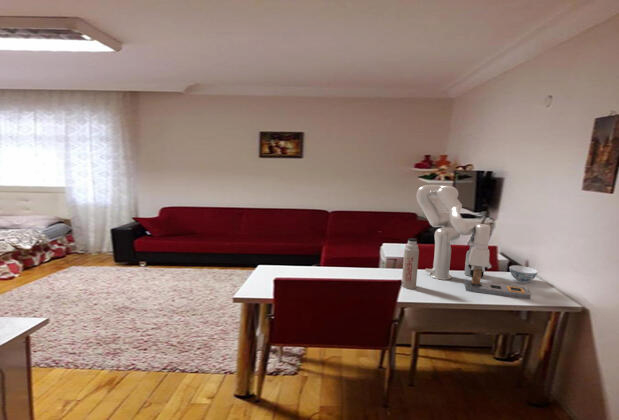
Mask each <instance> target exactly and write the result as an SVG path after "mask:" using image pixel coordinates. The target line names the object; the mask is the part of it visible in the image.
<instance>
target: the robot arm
mask: <svg viewBox="0 0 619 420" xmlns="http://www.w3.org/2000/svg"><path fill="white" fill-rule="evenodd" d="M415 197H416V201H417V203H418V205H419V207H420V208H421V210H422V212H423V213H424V215H425V217H426V219H427V221H428V223H429V225H430V226H431V227H433V228H437V229H436V230H435V232H434V254H433V255H434V256H433V257H434V258H433V264H432V266H433V267H432V268H427V267H426V268H425V269H424V270H425V272H427V273H430V274H429V276H430V277H432V278H433V279H435V280H436V279H437V280H442V281H444V280H445V281H448V280H451V279H452V275H450V265H451V256H452V255H451V254H452V247H451V246H452V245H451V242H455V241H457V240H459V239H460V237H461V236H470V235H471V236H472V234H475V236H474V242H473V243H471V245H472V246H473V247H472V248H471V251H470V255H469V259H468V260H467V261H466V260H465V262H464V264H466V265H467V266H468V267H469V268H470V269H471V272H470V275H471V276H472V277H473V273H474V269H473V268H474V266H480V267H482V269H481V271H482V273H481V279H482V278H483V277H484V274H485V272H486V271H487V270H489V269H491V268H492V264H491V263H490V249H489V241H490V233H491V226H490V225H488V224H485V223H479V222H476V221H474V220H473V221H465V220H464V218H463V216H462V215H461V213H460V210H462V207H463V204H462V203H461V202H460V200H459V199H458V197H459V190H458V189H457V188H456V187H455V186H450V185H449V186H448V185H439V184H425V185H422V186H420V187H419V188H418V189H417V191H416V196H415ZM432 199H439V201H440V202H441V204H442V205H443V206H444V208H445V209H446V211H443V210H442V211H440V210H439V208H438V207H437V205H436V204H435V201H433V200H432ZM447 211H448V212H447ZM468 263H469V264H468ZM472 277H471V278H472Z"/></svg>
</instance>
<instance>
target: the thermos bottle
mask: <svg viewBox="0 0 619 420" xmlns="http://www.w3.org/2000/svg"><path fill="white" fill-rule="evenodd" d="M417 241H418V239H417V238H412V237H411V238H408V239H407V243H406V244H405V247H404V250H403V265H402V275H401V276H402V278H401V282H402V281H403V285H402V284H401V287H402V288H404V289H407V290H415V289H416V288H417V280H418V279H417V278H418V269H419V268H418V267H419V255H420V249H419V245H418V242H417Z"/></svg>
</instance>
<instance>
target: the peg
mask: <svg viewBox="0 0 619 420" xmlns="http://www.w3.org/2000/svg"><path fill="white" fill-rule="evenodd" d="M473 269H474V273H473V277H471V281H472V283H473V284H479V285H480V282H481V279H482V278H481V273H482V271H481V269H477V268H473Z"/></svg>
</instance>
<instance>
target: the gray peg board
mask: <svg viewBox="0 0 619 420" xmlns="http://www.w3.org/2000/svg"><path fill="white" fill-rule="evenodd" d="M463 285H464V289H465V291H466V292H472V293H481V294H487V295H495V296H502V297H509V298H517V299H525V300H531V296H532V295H531V293H530V292H529V291H528V289H527V288H526V287H524V286H516V285H510V284H509V285H508V284H507V285H506V284H502V283H501V284H500V283H494V282H493V283H492V282H487V281H486V282H485V281H480V285H479V284H473V283H472V280H469V279H464V280H463Z"/></svg>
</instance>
